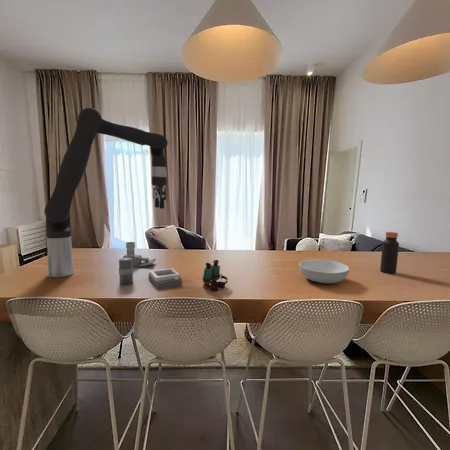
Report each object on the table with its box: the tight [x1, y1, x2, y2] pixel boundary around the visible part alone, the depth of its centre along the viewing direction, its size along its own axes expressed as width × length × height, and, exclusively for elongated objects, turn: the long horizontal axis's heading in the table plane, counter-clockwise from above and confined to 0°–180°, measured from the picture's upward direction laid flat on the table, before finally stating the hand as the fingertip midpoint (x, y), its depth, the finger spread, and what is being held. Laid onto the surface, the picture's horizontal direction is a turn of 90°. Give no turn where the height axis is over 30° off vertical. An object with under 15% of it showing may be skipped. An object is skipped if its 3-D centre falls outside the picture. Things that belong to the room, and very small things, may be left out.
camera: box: [122, 241, 156, 268], centre depth 137 cm, size 9×12×15 cm
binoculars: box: [202, 259, 229, 292], centre depth 107 cm, size 9×11×10 cm
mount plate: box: [148, 267, 183, 290], centre depth 114 cm, size 10×14×4 cm
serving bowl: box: [298, 258, 350, 284], centre depth 120 cm, size 21×21×7 cm
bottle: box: [379, 231, 400, 275], centre depth 132 cm, size 7×7×20 cm
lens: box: [118, 257, 134, 286], centre depth 111 cm, size 6×6×10 cm
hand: (159, 208), depth 139 cm, fingers open, 8 cm apart
